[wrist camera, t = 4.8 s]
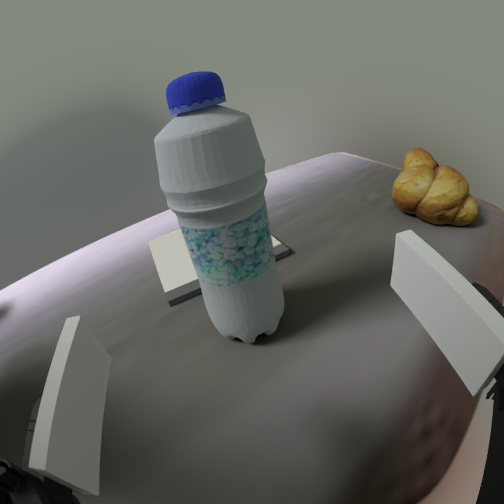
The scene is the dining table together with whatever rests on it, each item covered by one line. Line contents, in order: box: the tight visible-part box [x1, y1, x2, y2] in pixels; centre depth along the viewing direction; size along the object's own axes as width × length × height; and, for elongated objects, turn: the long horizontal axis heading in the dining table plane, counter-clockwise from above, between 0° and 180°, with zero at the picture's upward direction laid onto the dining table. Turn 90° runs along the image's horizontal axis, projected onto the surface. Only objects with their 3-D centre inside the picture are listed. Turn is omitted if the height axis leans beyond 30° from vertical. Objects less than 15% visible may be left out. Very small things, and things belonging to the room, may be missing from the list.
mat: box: [148, 228, 290, 306], centre depth 37 cm, size 14×15×1 cm
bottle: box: [154, 72, 284, 343], centre depth 20 cm, size 7×7×20 cm
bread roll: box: [392, 148, 478, 226], centre depth 32 cm, size 13×10×8 cm
